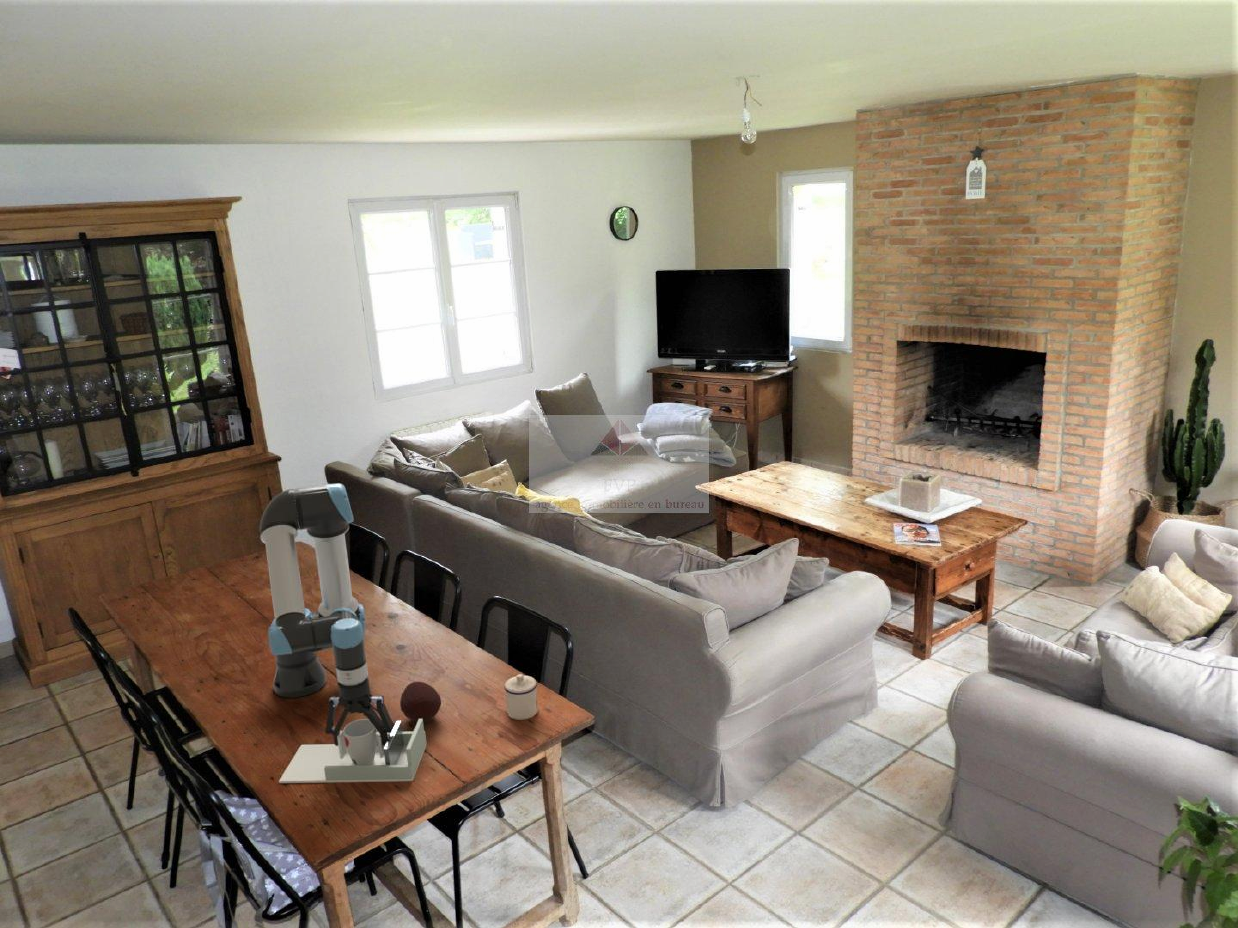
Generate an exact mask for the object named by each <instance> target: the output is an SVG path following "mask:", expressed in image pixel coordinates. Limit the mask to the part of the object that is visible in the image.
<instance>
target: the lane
mask: <svg viewBox="0 0 1238 928" xmlns="http://www.w3.org/2000/svg"><path fill="white" fill-rule="evenodd" d="M402 733H403V741H404V747H403V749H402V751H401V754H400V756H399V758H398V761H397V763H396V765H386V764H385V757H383V758H380V753H379V745H378V737H377V736H378V734H379V732H378V731H376V738H377V740H376V753H375V757H374V761H373V763H372V764H370V765H358V766H355V765H354V763H353V761H352V760H351V758H350V755H349V753H348V750H347V747H346V754H345V756H344V758H343V759H340V754H339V747H338V746H335V743H331V744H330V743H327V744H324V743H321V744H319V743H318V744H317V743H316V744H301V745H300V746H299V748H298V749H297V751H296V753H295V754H294V755H293V757H292V759H291V761H289V764H288V766H287V767H286V769H285V771H284V772H283V773H282V775H281V777H280V779H279V780H278V783H279V784H298V783H300V784H308V783H315V784H316V783H366V782H367V783H368V782H371V783H372V782H373V783H375V782H376V783H377V782H381V783H383V782H413V780H414V778H415V776H416V774H417V771H418V768H419V765H420V763H421V760H422V758H423V755H424V752H425V750H426V747H427V744H428V743H427V735H426V731H425V728H424V723H423V719H419V720H418V722H416V725H415V727H414V729H413V731H402ZM390 734H391V733H387V736H388V738H389V736H390ZM344 739H345V738H344ZM345 746H346V743H345Z"/></svg>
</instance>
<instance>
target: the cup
mask: <svg viewBox="0 0 1238 928" xmlns="http://www.w3.org/2000/svg"><path fill="white" fill-rule="evenodd" d="M342 731H343V733H344V738H345V743H346V747H347V750H348V753H349V755H350V758H351V760H352V761H353V763H354V765H355V766H358V765H370V764H372V763H373V761H374V757H375V753H376V740H377V738H376V732H377V729H376V728H375V727H374V725H373V724H372V723H371V722H370V720H369V719H368V718H367V719H366V718H361V719H356V720H354V721H351V722H349V723H347V724H346V725H345V726H344V727H343V730H342Z"/></svg>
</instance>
